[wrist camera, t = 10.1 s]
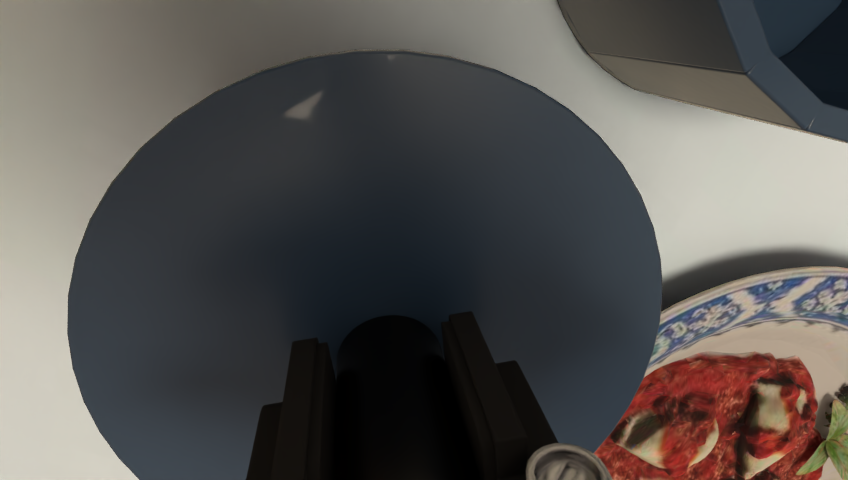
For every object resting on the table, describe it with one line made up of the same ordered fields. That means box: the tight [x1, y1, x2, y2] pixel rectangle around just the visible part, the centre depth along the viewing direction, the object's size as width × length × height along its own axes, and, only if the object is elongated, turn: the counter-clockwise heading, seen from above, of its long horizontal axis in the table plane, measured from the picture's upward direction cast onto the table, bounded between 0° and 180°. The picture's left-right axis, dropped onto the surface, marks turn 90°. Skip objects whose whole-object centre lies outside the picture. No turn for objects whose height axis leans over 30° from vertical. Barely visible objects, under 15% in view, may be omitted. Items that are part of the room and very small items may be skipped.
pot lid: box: [68, 50, 663, 480], centre depth 11 cm, size 14×14×6 cm
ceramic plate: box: [594, 266, 848, 480], centre depth 28 cm, size 26×26×3 cm
